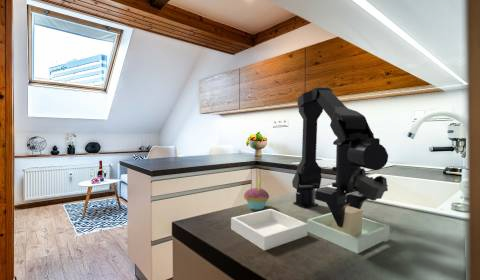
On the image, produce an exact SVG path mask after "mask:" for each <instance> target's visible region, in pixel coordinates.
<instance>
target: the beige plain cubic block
mask: <svg viewBox="0 0 480 280" xmlns="http://www.w3.org/2000/svg"><path fill="white" fill-rule="evenodd" d="M362 218H363V209H362V208H361V209H357V208H354V207H350V206H347V207H346V208H345V214H344V222H343V227H342V228H341V227H338V226H337V223H336V221H335V219H334V217H333V221H332V228H333V229H336V230H338V231H341V232H344V233H346V234H349V235H351V236H357V235H359V234H362Z"/></svg>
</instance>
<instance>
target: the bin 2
mask: <svg viewBox="0 0 480 280" xmlns="http://www.w3.org/2000/svg"><path fill="white" fill-rule="evenodd" d="M332 221H333V215H332V213H331V212H328V213H325V214H322V215H318V216H315V217H311V218H308V219H306V223H307V224H308V232H307V233H309V234H311V235H314V236H317V237H320V239H324V240H326V241H327V242H330V243H332V244H335V245H337V246H339V247H341V248H344V249H347V250H348V251H351V252H353V253H355V254H360V253H363V252H364V251H365V250H368V249H370V248H372V247H374V246H376V245H378V244H380V243H382V242H386V243H387V242H388V241H390V228H391V227H390V225H389V224H385V223H382V222H378V221H375V220H373V219H369V218H365V217H362V234H359V235H357V236H351V235H349V234H346V233H344V232H341V231H338V230H336V229H333V228H332Z"/></svg>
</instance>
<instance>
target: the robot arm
mask: <svg viewBox="0 0 480 280" xmlns="http://www.w3.org/2000/svg"><path fill="white" fill-rule="evenodd" d="M297 106H298V113H299V115H300V116H301V118H302V140H301V141H302V142H301V145H302V146H301V160H300V162H299V164H298V165H297V166H296V173H295V174H294V177H293V179H292V181H291V182H292V183H291V185H292V188H294V189H296V192H295V201H294V202H292V203H293V204H294V205H296V206H299V207H302V208H305V209H308V208H312V207H317V206H319V203H317V202H315V201H320V202H323V203H325V204H326V206H327V207H328V209H329V210H330V213H332V215H333V217H334V219H335V221H336V223H337V226H338V227H341V228H342V227H343V222H344V214H345V208H346V207H347V206H350V207H354V208H357V209H361V210H362V206H363V204H364V203H365V202H366V201H367V200H370V201H376V200H379V199H380V200H381V199H382V198H383V196H384V194H385V192H388V191H389V188H388V187H389V186H388V182H387V178H386V177H384V176H383V175H378V176H376V177H373V176H367V175H366V169H368V170H370V171H379V170H381V169H383V168H384V167H385V166H386V165H387V162H388V159H389V154H388V150H387V149H386V148H385V147H384V145H383V144H380V143H381V141H380V138H378V137H377V138H376V137H375V134H374V132H373V131H372V130H371V128H370V125H369V123H368V121H367V120H368V119H366V116H365V115H363V114H362V113H360V112H359V111H358V110H357V111H356V110H353V109H351V108H348V107H347V106H346V105H345V104H344V103H343V102H342V101H341V99H339V98H338V96H336V95H335V93H334V92H333V90H332V88H330V87H327V86H325V87H324V86H316V87H313V88H312V90H309V91H306V92H303V93H302V94H300V96H298V98H297ZM323 111H324V112H325V113H326V115H327V116H328V117H329V119H330V124H329V127H330V128H331V131H332V132H333V134H334V136H335V137H336V139H334V141H333V142H332V144H333V145H335V146H336V148H335V149H336V153H335V154H336V155H335V156H336V158H335V162H336V164H335V166H332V170H331V171H332V172H335V181H334V182H332V183H331V187H330V186H323V187H321V183H322V168H321V167H322V166H319V164H318V163H317V142H318V119H319V118H320V116H321V115H322V114H323ZM293 204H292V205H293Z"/></svg>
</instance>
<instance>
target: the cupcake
mask: <svg viewBox="0 0 480 280" xmlns="http://www.w3.org/2000/svg"><path fill="white" fill-rule="evenodd" d="M261 181H262V175H261V174H260V176H259V177H258V186H257V188H256V187H255V188H254V187H253V188H250V189H248V190H246V191H245V192H244V194H243V198H244V200H246V201H247V204H248V207H249V209H251V210H257V211H258V210H259V211H261V210H263V209H264V208H265V206H266V204H267V202H268V200H269V199H270V198H269V197H270V195H269V192H267V190H265V189H264V188H261Z"/></svg>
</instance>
